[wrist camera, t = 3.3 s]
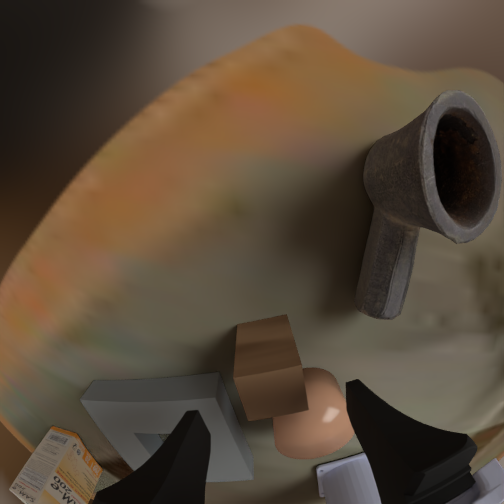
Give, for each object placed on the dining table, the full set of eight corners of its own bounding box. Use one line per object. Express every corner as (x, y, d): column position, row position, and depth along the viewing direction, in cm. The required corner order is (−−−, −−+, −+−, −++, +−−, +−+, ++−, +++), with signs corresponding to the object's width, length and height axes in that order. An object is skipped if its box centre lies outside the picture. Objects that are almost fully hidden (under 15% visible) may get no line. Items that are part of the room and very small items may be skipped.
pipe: (325, 293, 18) (371, 358, 10) (357, 107, 15) (421, 63, 8) (398, 301, 18) (461, 354, 10) (428, 134, 16) (505, 117, 8)
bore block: (253, 456, 22) (253, 479, 19) (147, 459, 22) (141, 478, 19) (219, 371, 19) (215, 397, 16) (93, 380, 20) (79, 399, 17)
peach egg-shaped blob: (339, 407, 20) (354, 447, 15) (276, 421, 21) (281, 464, 16) (336, 359, 19) (356, 401, 14) (264, 376, 19) (268, 422, 15)
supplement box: (105, 469, 23) (76, 538, 11) (78, 461, 23) (47, 523, 11) (78, 432, 22) (35, 508, 9) (51, 423, 22) (7, 489, 9)
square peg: (294, 354, 19) (308, 410, 13) (248, 363, 19) (248, 421, 13) (286, 314, 18) (301, 364, 12) (237, 324, 18) (233, 378, 13)
